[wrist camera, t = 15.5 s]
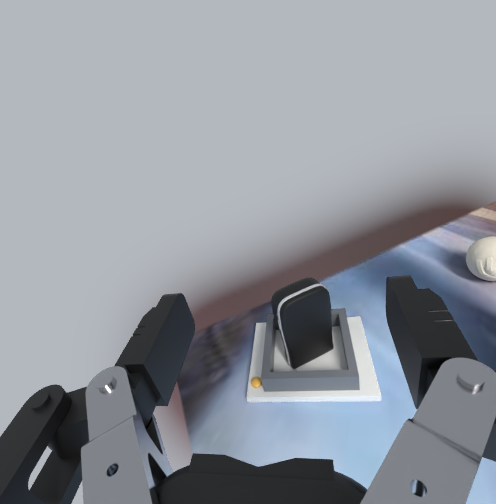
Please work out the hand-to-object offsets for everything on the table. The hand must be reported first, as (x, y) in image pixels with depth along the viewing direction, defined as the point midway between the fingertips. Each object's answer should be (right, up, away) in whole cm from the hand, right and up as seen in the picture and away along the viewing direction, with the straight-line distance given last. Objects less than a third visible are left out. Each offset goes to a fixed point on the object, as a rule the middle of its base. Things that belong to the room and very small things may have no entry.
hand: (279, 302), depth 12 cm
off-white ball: (+37, -2, +37) cm, 53 cm away
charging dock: (+7, -13, +31) cm, 34 cm away
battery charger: (+7, -12, +31) cm, 34 cm away
